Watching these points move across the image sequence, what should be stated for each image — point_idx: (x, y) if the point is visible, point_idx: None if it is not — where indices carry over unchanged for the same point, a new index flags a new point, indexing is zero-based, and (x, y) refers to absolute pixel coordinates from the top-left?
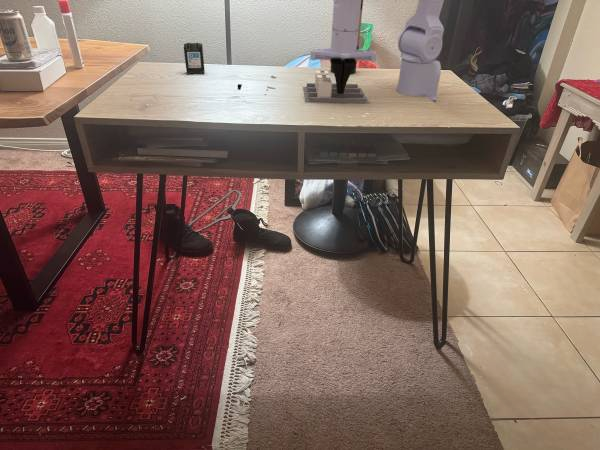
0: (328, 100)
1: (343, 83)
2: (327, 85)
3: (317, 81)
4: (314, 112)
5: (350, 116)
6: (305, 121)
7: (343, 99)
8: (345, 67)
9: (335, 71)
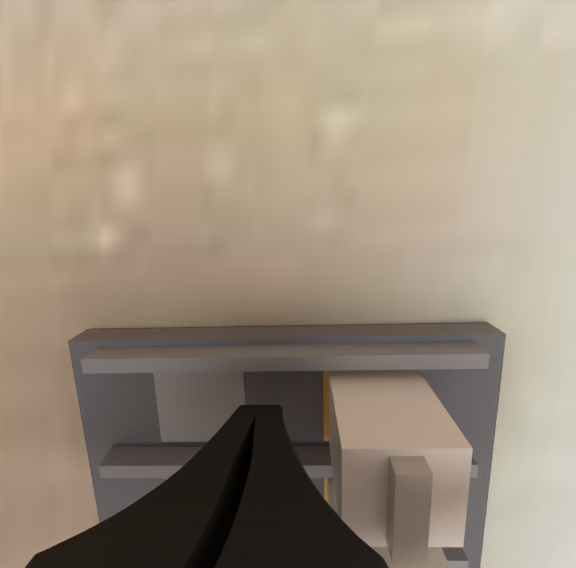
0: (348, 348)
1: (231, 442)
2: (378, 431)
3: (442, 556)
4: (440, 235)
5: (213, 174)
6: (529, 41)
7: (242, 355)
8: (175, 556)
9: (328, 519)
